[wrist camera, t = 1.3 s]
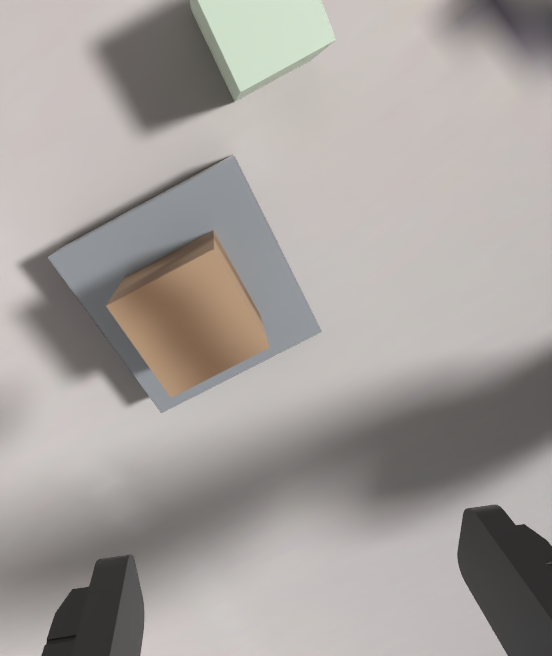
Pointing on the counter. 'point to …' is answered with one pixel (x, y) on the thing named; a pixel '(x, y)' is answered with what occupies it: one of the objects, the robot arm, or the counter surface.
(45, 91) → the counter surface
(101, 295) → the slate trivet
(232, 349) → the walnut block
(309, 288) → the counter surface
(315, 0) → the sage block
